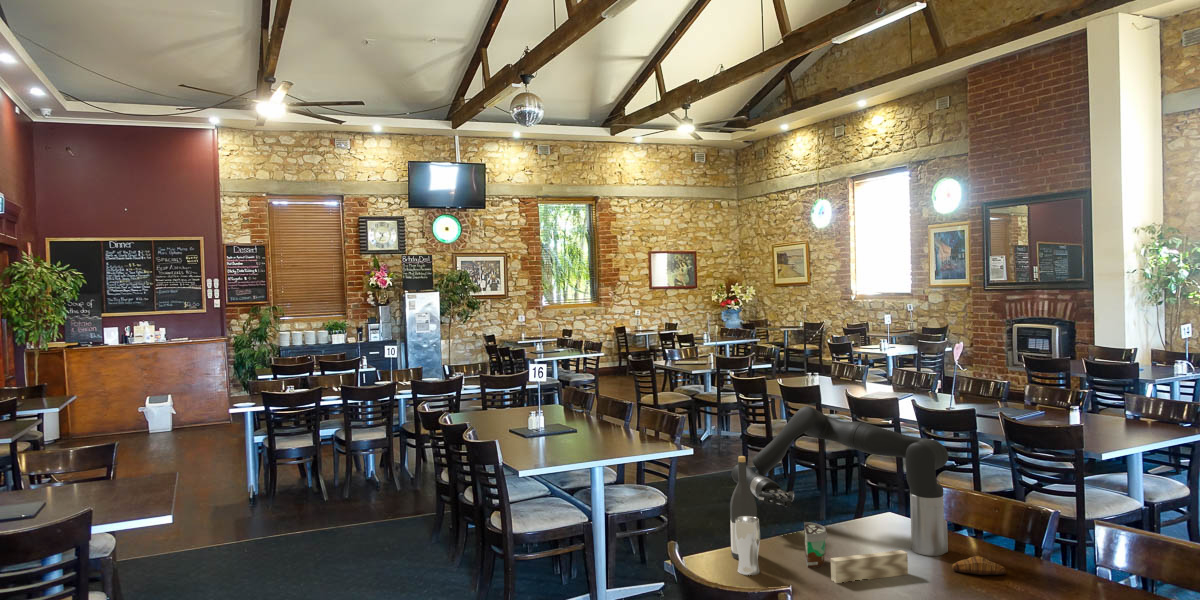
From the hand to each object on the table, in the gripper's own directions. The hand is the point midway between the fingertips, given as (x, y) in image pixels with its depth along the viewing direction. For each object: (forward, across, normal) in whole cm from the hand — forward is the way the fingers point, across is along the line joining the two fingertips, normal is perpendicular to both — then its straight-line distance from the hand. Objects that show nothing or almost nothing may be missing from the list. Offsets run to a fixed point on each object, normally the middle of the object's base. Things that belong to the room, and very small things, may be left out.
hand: (788, 504), depth 231 cm
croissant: (+37, +38, +12) cm, 55 cm away
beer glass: (+18, -22, +13) cm, 31 cm away
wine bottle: (+6, -18, +13) cm, 23 cm away
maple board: (+32, +8, +12) cm, 35 cm away
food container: (+17, 0, +12) cm, 21 cm away
